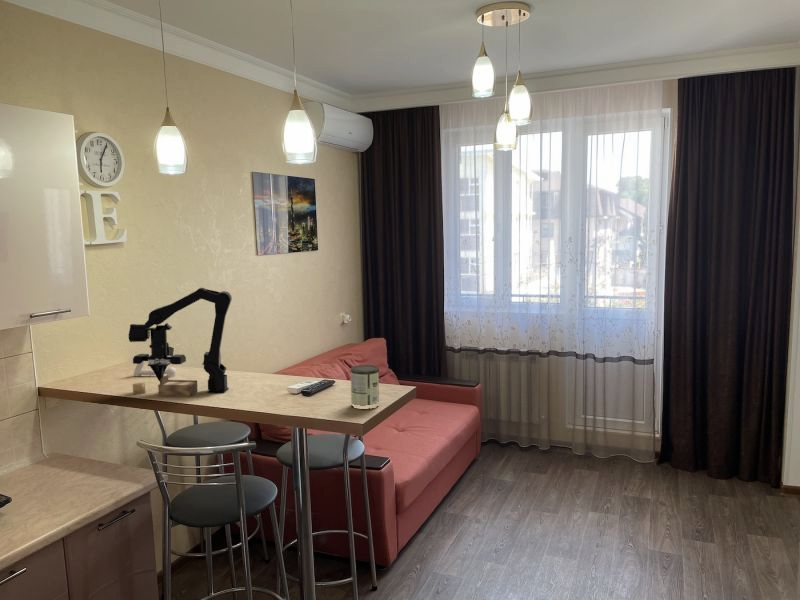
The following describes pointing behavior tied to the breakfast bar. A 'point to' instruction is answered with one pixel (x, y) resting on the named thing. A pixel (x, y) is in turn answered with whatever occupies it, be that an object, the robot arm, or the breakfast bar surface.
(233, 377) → the breakfast bar surface
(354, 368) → the coffee can
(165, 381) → the lid
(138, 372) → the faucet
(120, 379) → the breakfast bar surface
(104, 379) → the breakfast bar surface
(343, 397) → the breakfast bar surface
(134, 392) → the tan wooden cube
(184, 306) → the robot arm
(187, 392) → the box
